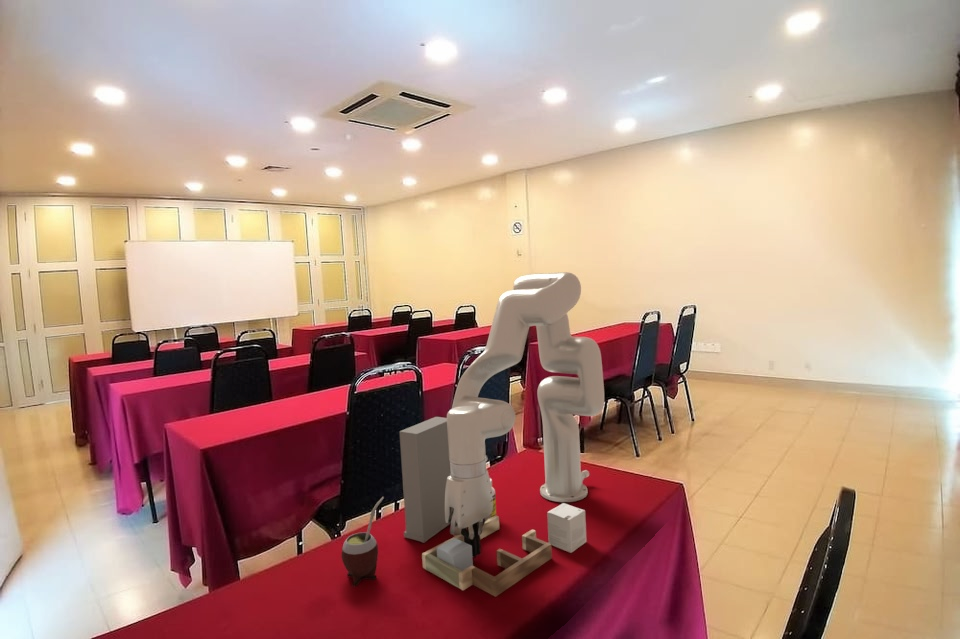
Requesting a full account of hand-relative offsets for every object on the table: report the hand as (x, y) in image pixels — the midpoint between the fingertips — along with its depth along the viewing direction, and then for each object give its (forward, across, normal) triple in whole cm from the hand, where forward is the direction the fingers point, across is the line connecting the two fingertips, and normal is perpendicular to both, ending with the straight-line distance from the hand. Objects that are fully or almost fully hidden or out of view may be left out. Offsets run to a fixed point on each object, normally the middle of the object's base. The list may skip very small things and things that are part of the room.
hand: (472, 553), depth 105 cm
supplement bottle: (+2, -15, -11) cm, 19 cm away
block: (+2, +5, 0) cm, 5 cm away
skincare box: (+2, -18, +11) cm, 21 cm away
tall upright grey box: (+2, -4, -18) cm, 18 cm away
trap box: (+2, -2, +3) cm, 4 cm away
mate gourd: (+2, +18, -13) cm, 22 cm away
